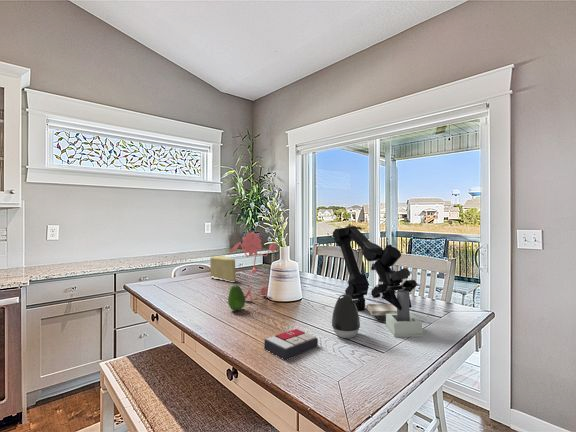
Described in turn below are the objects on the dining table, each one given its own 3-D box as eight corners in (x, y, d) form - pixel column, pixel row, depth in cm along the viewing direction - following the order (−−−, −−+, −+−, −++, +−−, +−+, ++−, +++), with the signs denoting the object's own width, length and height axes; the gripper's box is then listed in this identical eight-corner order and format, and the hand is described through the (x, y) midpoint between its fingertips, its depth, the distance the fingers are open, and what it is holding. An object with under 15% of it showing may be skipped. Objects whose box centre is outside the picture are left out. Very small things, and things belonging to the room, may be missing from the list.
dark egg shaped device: (354, 343, 110) (354, 300, 110) (327, 337, 116) (326, 296, 115) (364, 333, 119) (364, 292, 119) (338, 328, 125) (337, 289, 124)
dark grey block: (396, 326, 119) (396, 292, 119) (397, 322, 123) (397, 289, 123) (409, 327, 118) (409, 293, 117) (409, 323, 122) (409, 290, 121)
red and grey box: (318, 336, 109) (285, 347, 99) (318, 348, 109) (285, 361, 99) (296, 327, 118) (263, 337, 108) (296, 339, 118) (263, 350, 108)
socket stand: (394, 336, 115) (394, 323, 115) (386, 326, 125) (385, 313, 125) (422, 336, 115) (422, 322, 115) (411, 325, 125) (411, 313, 125)
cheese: (241, 281, 204) (240, 258, 203) (228, 284, 197) (227, 260, 197) (222, 276, 220) (222, 254, 219) (210, 279, 213) (209, 256, 213)
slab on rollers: (372, 321, 131) (372, 311, 131) (366, 313, 140) (366, 304, 140) (406, 320, 131) (406, 310, 131) (399, 313, 140) (399, 303, 140)
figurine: (281, 295, 170) (279, 230, 169) (238, 306, 154) (235, 233, 153) (265, 290, 182) (262, 229, 181) (223, 300, 166) (221, 232, 165)
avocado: (224, 311, 148) (224, 285, 147) (238, 306, 153) (237, 281, 153) (235, 314, 142) (234, 288, 142) (249, 310, 148) (248, 284, 148)
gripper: (375, 263, 119) (397, 301, 110) (413, 259, 127) (436, 293, 117) (363, 280, 127) (381, 316, 117) (399, 275, 134) (420, 308, 125)
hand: (405, 308), depth 119 cm, fingers closed on dark grey block, 4 cm apart
